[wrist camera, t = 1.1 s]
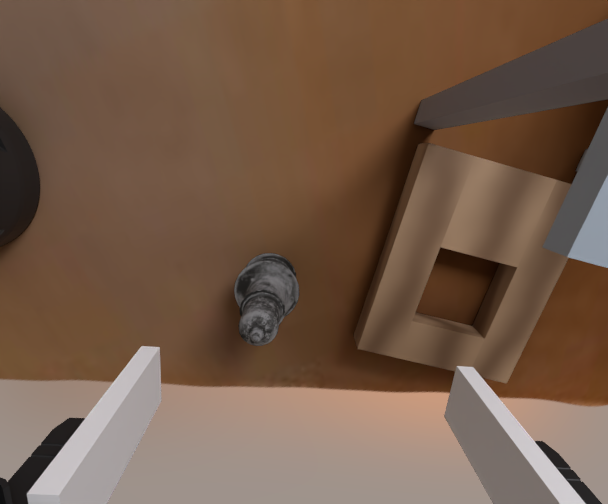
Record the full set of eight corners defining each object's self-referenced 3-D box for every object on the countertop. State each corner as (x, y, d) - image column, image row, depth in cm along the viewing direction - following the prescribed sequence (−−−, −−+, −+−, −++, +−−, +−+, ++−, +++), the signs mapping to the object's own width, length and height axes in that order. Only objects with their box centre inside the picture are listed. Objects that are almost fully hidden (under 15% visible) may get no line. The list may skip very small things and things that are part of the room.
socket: (353, 335, 36) (357, 348, 34) (418, 143, 31) (428, 142, 29) (492, 368, 38) (506, 383, 35) (577, 189, 33) (600, 192, 30)
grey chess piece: (304, 299, 35) (306, 370, 24) (248, 309, 36) (223, 385, 24) (292, 245, 34) (289, 292, 22) (234, 256, 34) (200, 308, 22)
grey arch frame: (391, 189, 32) (567, 256, 11) (421, 100, 30) (705, -24, 9) (565, 237, 34) (1010, 375, 13) (605, 155, 32) (1215, 157, 11)
